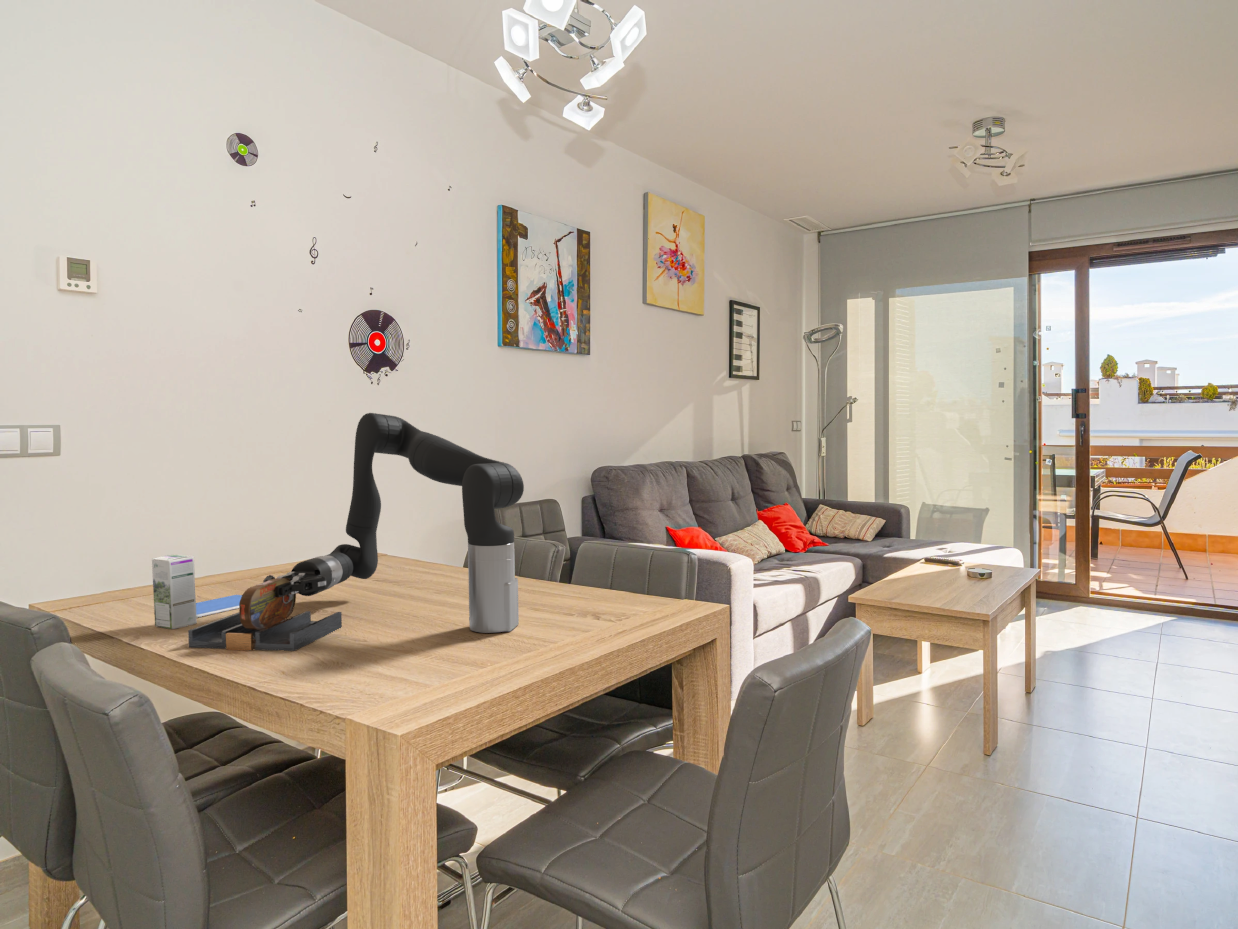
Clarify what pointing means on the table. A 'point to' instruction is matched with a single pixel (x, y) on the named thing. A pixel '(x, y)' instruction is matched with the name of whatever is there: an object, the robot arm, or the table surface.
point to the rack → (263, 633)
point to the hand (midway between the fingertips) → (269, 592)
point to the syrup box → (174, 591)
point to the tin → (265, 605)
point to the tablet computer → (217, 605)
